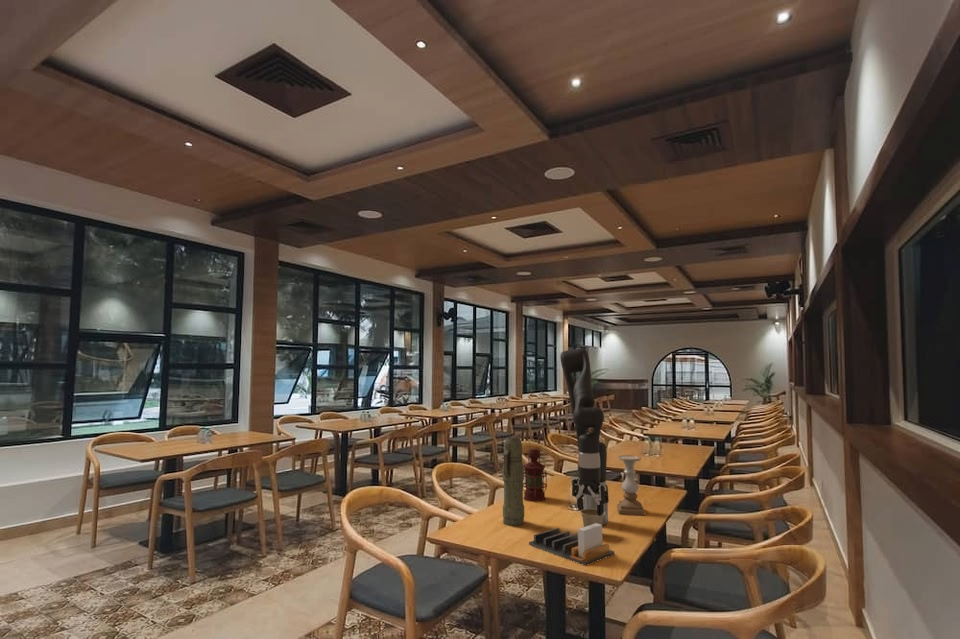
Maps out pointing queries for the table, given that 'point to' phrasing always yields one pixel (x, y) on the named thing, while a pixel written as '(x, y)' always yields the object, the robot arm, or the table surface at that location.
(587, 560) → the rack
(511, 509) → the thermos
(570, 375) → the robot arm
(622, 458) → the candle holder
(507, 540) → the table surface
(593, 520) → the flower pot
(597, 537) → the panel
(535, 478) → the lantern
